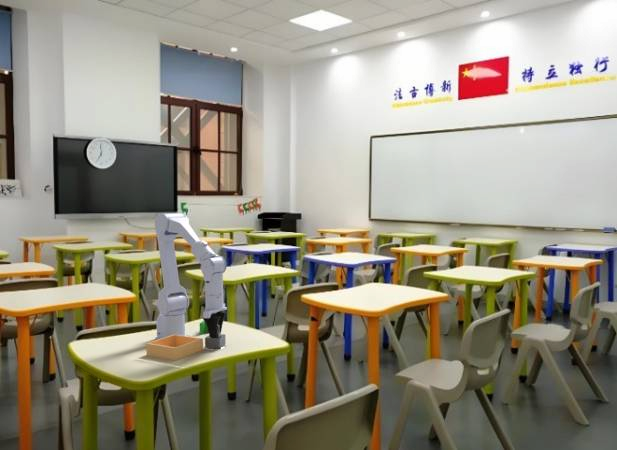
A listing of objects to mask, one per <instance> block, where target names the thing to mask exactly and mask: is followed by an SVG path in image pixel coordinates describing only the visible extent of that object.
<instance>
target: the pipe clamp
mask: <svg viewBox="0 0 617 450" xmlns="http://www.w3.org/2000/svg"><path fill="white" fill-rule="evenodd" d="M205 333H209V332H208V328H207V325H206V323H205V321H204V320H202V321H201V322H199V335H204V334H205Z"/></svg>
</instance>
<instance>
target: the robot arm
mask: <svg viewBox="0 0 617 450" xmlns="http://www.w3.org/2000/svg"><path fill="white" fill-rule="evenodd" d="M154 227H155V228H154V229H155V235H156V238H157V244H158V250H159V252H158V253H159V259H160V267H161V275H162V281H163V287H162V289H161V290H160V291H158V293H157V309H158V311H159V312H160V313H159V314H158V315H157V318H156V337H155V338H154V339H155V340H159V339H162V338H165V337H168V336H171V335H174V334H175V335H182V336H189V337H191V335H189V334H186V327H185V324H186V323H185V321H186V320H185V318H186V317H185V313H187V309H188V308H189V306H190V299H189V296H188V295H187V294H188V293H187V289H186V288H185V287H183V286H182V285H181V284H180V278H179V277H180V276H179V269H178V263H177V256H176V249H175V239H176V238H177V237H179V236H180V237H181V238H182V239H184V240H185V242H187V244H188V245H189V246H190V247H191V248H190V253H191V254H192V255H193V256H194V258H195V259H196V260H197V261H198V262H199V264H200V271H201V273H202V275H203V276H202V277H203V278H202V279H203V280H204V286H205V287H204V289H205V290H204V291H205V292H204V293H205V302H204V303H205V307H204V311H202V319H203V320H202V321H205V323H206V325H207V328H208V332H207V333H208V336H210V337H217V331H218V324H219V325H220V334H222V329H223V324H224V320H225V317H226V315H227V311H226V310H228V307H227V306H226V303H225V302H224V273H225V272H226V270H227V261H226V260H225V258H224V256H221V255H218V254H216V252H214V250H213V249H212V248H211V247H210V245H209V243H208V242H207V241H205V240H200V238H199V237H198V235H197V233H195V231H194V230H193V228H192V226H191V225H190V218H189V217H187V215H186V213H184V212H179V213H178V212H175V213H174V212H173V213H164V212H163V213H162V212H161V213H159V214H158V215H157V216H156V217H155V219H154Z"/></svg>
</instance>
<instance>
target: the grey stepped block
mask: <svg viewBox="0 0 617 450" xmlns="http://www.w3.org/2000/svg"><path fill="white" fill-rule="evenodd" d="M224 345H227V344H226V334H222V333H221V334H220V325H219V324H218V331H217V337H210V336H209V335H206V336H205V337H204V349H205V348H221V347H222V346H224Z"/></svg>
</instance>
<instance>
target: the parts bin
mask: <svg viewBox="0 0 617 450" xmlns="http://www.w3.org/2000/svg"><path fill="white" fill-rule="evenodd" d="M145 344H146V345H145V346H146V349H145V350H146V356H149V357H156V358H160V359H167V360H172V361H179V360H180V359H182V358H186V357H188V356H191V355H194V354H196V353H198V352H201V351H203V350H204V338H200V337H195V336H190V337H189V336H182V335H175V334H174V335H171V336H168V337H165V338H162V339H159V340H158V339H155V340H152V341H150V342H147V343H145Z"/></svg>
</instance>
